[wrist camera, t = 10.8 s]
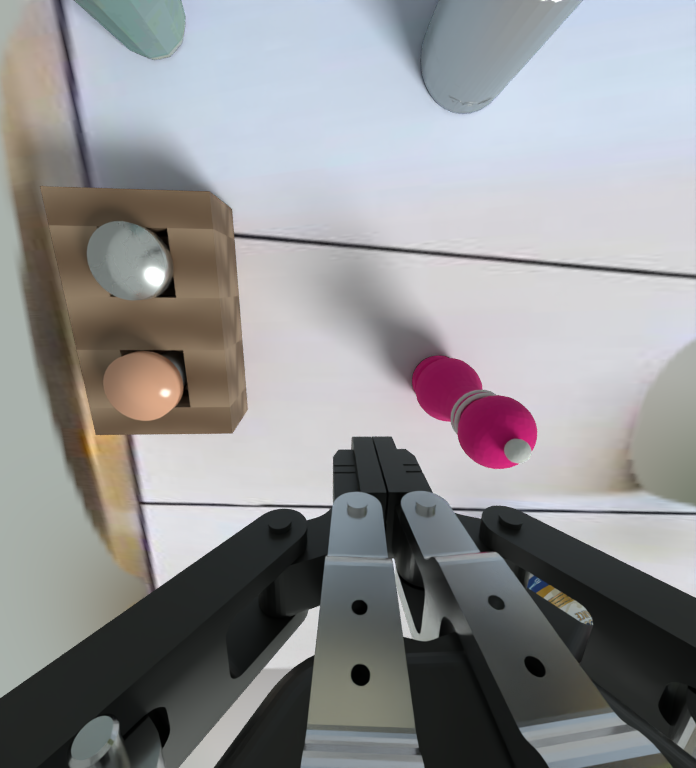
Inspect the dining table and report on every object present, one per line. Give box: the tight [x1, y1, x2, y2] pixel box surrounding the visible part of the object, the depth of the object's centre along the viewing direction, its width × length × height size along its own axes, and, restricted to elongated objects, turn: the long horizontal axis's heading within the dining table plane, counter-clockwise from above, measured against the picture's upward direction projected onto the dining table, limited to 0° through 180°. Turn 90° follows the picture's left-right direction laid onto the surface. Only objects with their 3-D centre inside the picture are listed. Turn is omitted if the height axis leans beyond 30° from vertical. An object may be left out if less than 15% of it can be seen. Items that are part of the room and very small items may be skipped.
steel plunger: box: [87, 221, 175, 300], centre depth 32 cm, size 6×6×7 cm
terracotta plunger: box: [103, 350, 188, 421], centre depth 34 cm, size 6×6×7 cm
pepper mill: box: [412, 356, 537, 469], centre depth 33 cm, size 7×7×20 cm
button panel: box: [40, 186, 248, 435], centre depth 35 cm, size 23×14×7 cm, turn 179°
